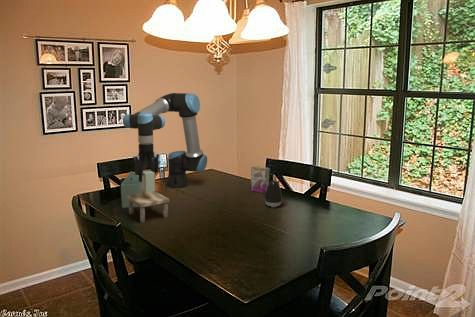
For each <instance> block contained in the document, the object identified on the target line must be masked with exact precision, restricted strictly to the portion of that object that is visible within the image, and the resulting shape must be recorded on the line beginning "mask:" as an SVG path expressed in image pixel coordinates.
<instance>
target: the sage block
mask: <svg viewBox="0 0 475 317" xmlns="http://www.w3.org/2000/svg"><path fill="white" fill-rule="evenodd" d="M142 175H143V176H144V188H141V185H140V189H141V190H142V191H143V193H146V192H152V191H155V192H156V182H155V181H156V174H155V172H152V171H151V169H143V173H142Z"/></svg>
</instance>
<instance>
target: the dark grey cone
mask: <svg viewBox="0 0 475 317" xmlns="http://www.w3.org/2000/svg"><path fill="white" fill-rule="evenodd" d="M280 182H281V180H270V181H269V184H268V187H267V189H266V193H265V194H264V202H265V205H266V206H268V207H269V206H271V207H270V208H277V206H278V207H279V206H280V205H281V204H282V201H283V194H282V189H281V185H280Z"/></svg>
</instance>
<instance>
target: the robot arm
mask: <svg viewBox="0 0 475 317" xmlns="http://www.w3.org/2000/svg"><path fill="white" fill-rule="evenodd" d="M200 110H201V102H200V99H199V97H198V96H197V94H195V93H190V92H189V93H188V92H187V93H185V92H183V93H182V92H180V93H179V92H178V93H177V92H171V93H167V94H165V95H163V96H160V97H158V98H157V99H155V101H154V102H153V103H151V104H149V105H147V106H146V107H143V108H142V109H140V110H138V111H137V112H135V113H133V114H131V113H127V114H125V115H124V116H123V119H122V124H123V126H124V127H125V128H127V129H136V130H137V133H138V134H137V137H138V138H137V139H138V140H137V141H138V153H137V155H133V156H132V158H133V160H134V173H135V174H136V175H138V176H139V182H140V185H141V188H144V176H143V175H142V173H143V170H145V169H144V168H145V164H146V162H148V164H149V168H150V169H149V170H150V171H152V172H155V175H157V173H159V172H160V171H159V170H160V168H159V157H160V154H158V153H155V151H154V150H155V149H154V131H156V130H160V129H163V128H164V127H165V124H166V120H165V118H164V116H163V115H162V114H165V113H168V112H169V113H170V112H174V113H178V117H180V118H181V120H182V126H183V132H184V140H185V146H186V150H176V151H175V150H174V151H171V152H169V153H168V155H167V156H168V157H167V160H168V176H167V178H166V182H165V185H166V186H167V187H168V188H174V189H175V188H186V187H188V186H189V185H190V184H189V182H190V181H189V179H188V178H189V177H188V176H187V172H194V173H195V172H196V173H203V172H204V171H205V170H206V168H207V165H208V157H207V154H204V151H203V149H201V145H200V140H199V139H200V138H199V131H198V125H197V118H196V117H197V115H198V113H199V112H200ZM139 160H140V161H139ZM153 160H154V161H153ZM139 163H140V164H139ZM153 163H154V164H153ZM187 185H188V186H187Z"/></svg>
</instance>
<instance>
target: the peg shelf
mask: <svg viewBox="0 0 475 317" xmlns="http://www.w3.org/2000/svg"><path fill="white" fill-rule="evenodd" d="M127 199H128V200H129V207H128V214H129V215H134V213H135V212H134V211H135V210H134V208H135V207H133V203H135V204H136V205H138V206H139V218H140V219H139V221H140V223H146V212H145V211H146V210H145V207H151V208H150V209H151V211H155V210H156V209H157V205H160V204H162V205H163V209H162V210H163V211H162V212H163V214H162V216H163V218H165V219H166V218H168V217H169V205H168V204H169V203H170V198H168V197H166V196H164V195H163V194H160V193H158V192H156V190H155V191H152V192H143V193H140V194H134V195H129V196H127Z"/></svg>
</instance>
